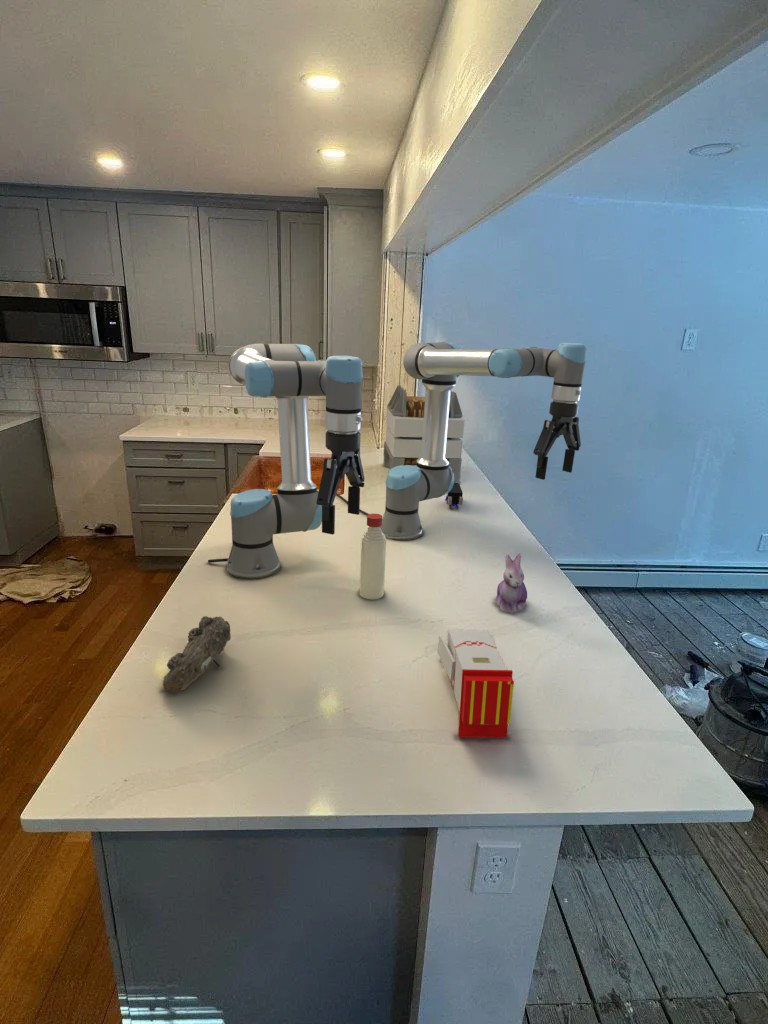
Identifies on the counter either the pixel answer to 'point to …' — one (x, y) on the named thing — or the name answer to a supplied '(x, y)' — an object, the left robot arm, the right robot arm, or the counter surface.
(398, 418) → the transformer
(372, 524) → the cap
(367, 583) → the bottle
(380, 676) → the counter surface
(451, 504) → the figurine character
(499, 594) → the figurine
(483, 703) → the toy
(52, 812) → the counter surface
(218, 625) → the fossil
